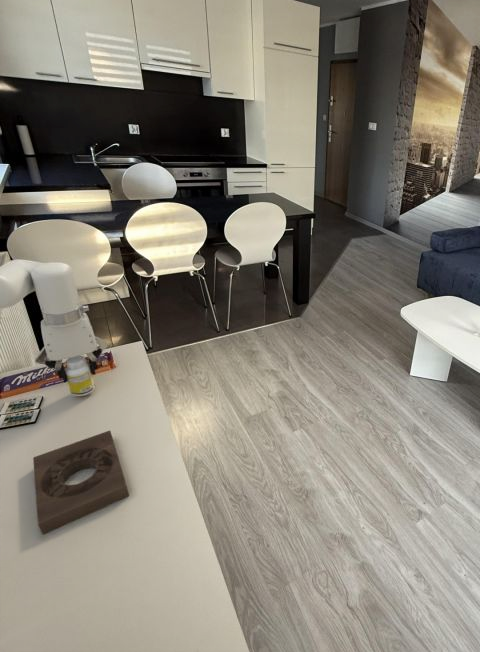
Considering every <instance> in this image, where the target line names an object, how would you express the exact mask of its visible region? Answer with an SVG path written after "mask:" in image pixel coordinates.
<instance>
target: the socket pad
mask: <svg viewBox="0 0 480 652" xmlns="http://www.w3.org/2000/svg"><path fill="white" fill-rule="evenodd" d="M32 462H33V476H34V489H35V490H34V491H35V502H36V515H37V517H36V518H37V525H38V528H39V530H40V532H41V535H46V534H47V533H49V532H51V531H54V530H56V529H58V528H61V527H63V526H65V525H68V524H69V523H72V522H74V521H76V520H78V519H81V518H83V517H86V516H88V515H89V514H92V513H95V512H96V511H97V512H98V511H99V510H101V509H104V508H106V507H108V506H110V505H112V504H114V503H117V502H119V501H121V500H123V499H126V498H128V497H130V493H129V489H128V485H127V483H126V478H125V476H124V472H123V469H122V466H121V463H120V459H119V456H118V452H117V449H116V445H115V442H114V439H113V435H112V431H111V430H107V431H103V432H101V433H98V434H96V435H93V436H90V437H87V438H84V439H82V440H79V441H75V442H73V443H70V444H67V445H65V446H62V447H58V448H55V449H53V450H50V451H47V452H44V453H41V454H39V455H36V456H33V458H32ZM87 469H93V470H95V472H94V473H92V475H91V476H90V477H89V478H87V479H86V480H84V481H81V482H79V483H77V484H76V483H75V484H70V485H68V484H65V482H66V481H67V480H68V479H69V478H70V477H71V476H72V475H74V474H75V473H77V472H80V471H83V470H87Z"/></svg>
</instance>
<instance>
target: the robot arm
mask: <svg viewBox="0 0 480 652" xmlns="http://www.w3.org/2000/svg"><path fill="white" fill-rule="evenodd" d="M75 280H76V279H75V275H74V272H73V269H72V267H71V266H70V265H68V264H67V263H65V262H57V261H56V262H41V261H34V260H28V259H22V258H21V259H20V258H19V259H12V260H9V261H6V262H5V263H3V264H2V265H0V309H8V308H10V307H13V306H15V305H17V304H18V303H19V302H21V301H22V300H23V299H24V298H25V297H26V296H28V295H29V294H31V293H33V292H35V294H36V297H37V301H38V304H39V306H40V311H41V314H42V318H43V319H42V320H41V321H40V330H41V331H40V332H41V336H42V341H43V345H44V346H43V347H42V349H41V350H40V351H39V352H38V354H37V355H36V356H35V357H34V361H35V363H37V364H40V365H45V366H46V367H49V368H52V369H54V370H55V371H56V373H57V375H58V379H59V380H61V379H62V380H63V384H64V383H65V384H66V383H68V381H67V378H66V374H65V367H64V364H63V360H65V359H66V360H67V359H68V358H70V357H75V356H79V355H81V356H84V355H86V356H87V357H88V364H89V365H90V367H91V371H92V375H93V376H95V375H97V374H96V370H99V368H98V364H97V360H98V358H99V357H100V355H101V354H102V353H103V352H104V351H105V350H106V349H107V348H108V346H109V343H108V342H107V341H106V340H104V339H103V338H100V337H98V336H96V335H95V333H94V329H93V326H92V324H91V321H90V319H89V316H88V314H87V313H86V312H89V311H90V308H89V305H88V304H87V305H83V304H81V302H80V297H79V293H78V287H77V285H76V281H75Z"/></svg>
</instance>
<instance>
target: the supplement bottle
mask: <svg viewBox="0 0 480 652" xmlns="http://www.w3.org/2000/svg"><path fill="white" fill-rule="evenodd" d="M65 365H66V368H64V370H65V374H66V378H67V384H68V388H69V391H70V394H71V395H72V396H75V397H83V396H87V395H89V394H91V393H92V392H93V391H94V390H95V389H96V383H95V379H94V375H92V371H91V367H90V364H89V362H86V358H85V356H84V355H79V356H75V357H70V358H66V360H65Z"/></svg>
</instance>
